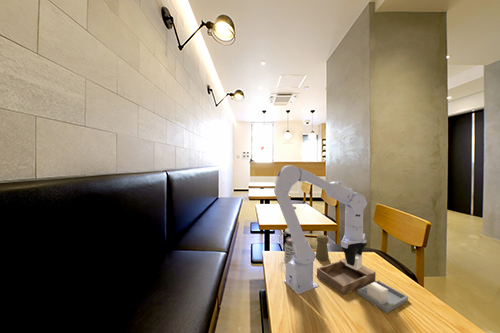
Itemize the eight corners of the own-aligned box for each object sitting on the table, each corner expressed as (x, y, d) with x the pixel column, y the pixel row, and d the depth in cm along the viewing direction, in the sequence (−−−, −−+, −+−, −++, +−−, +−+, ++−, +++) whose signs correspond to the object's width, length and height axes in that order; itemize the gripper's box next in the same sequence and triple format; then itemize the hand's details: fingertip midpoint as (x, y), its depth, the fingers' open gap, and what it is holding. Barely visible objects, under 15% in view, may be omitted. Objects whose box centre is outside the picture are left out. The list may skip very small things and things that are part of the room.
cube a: (387, 301, 57) (387, 289, 57) (380, 305, 56) (380, 292, 56) (374, 293, 61) (374, 281, 61) (367, 297, 59) (367, 285, 59)
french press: (301, 269, 76) (302, 210, 76) (275, 261, 82) (276, 206, 82) (306, 259, 84) (307, 205, 84) (283, 252, 90) (284, 202, 90)
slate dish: (387, 314, 53) (387, 308, 53) (357, 294, 61) (357, 289, 61) (408, 301, 58) (408, 296, 58) (378, 285, 66) (378, 280, 66)
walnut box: (343, 296, 60) (343, 284, 60) (316, 276, 71) (316, 267, 71) (375, 281, 68) (375, 271, 68) (347, 266, 79) (347, 257, 78)
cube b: (356, 270, 63) (356, 258, 63) (345, 265, 66) (345, 254, 66) (361, 266, 65) (361, 255, 65) (350, 261, 68) (350, 251, 68)
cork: (331, 262, 82) (331, 238, 81) (317, 262, 82) (318, 238, 82) (325, 255, 88) (326, 233, 88) (313, 255, 88) (313, 233, 88)
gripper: (356, 232, 58) (355, 274, 58) (374, 224, 66) (374, 261, 66) (335, 226, 64) (334, 264, 64) (354, 219, 72) (353, 253, 72)
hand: (353, 262), depth 65 cm, fingers closed on cube b, 4 cm apart
